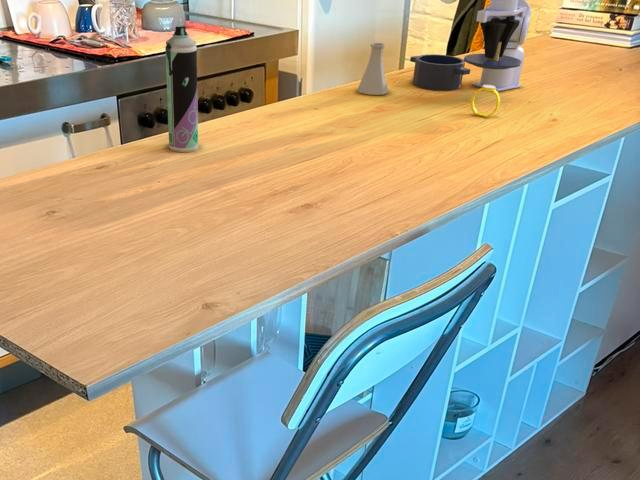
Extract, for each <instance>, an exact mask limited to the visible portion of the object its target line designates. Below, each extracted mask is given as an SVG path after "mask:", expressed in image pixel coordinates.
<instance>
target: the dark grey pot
mask: <svg viewBox="0 0 640 480" xmlns="http://www.w3.org/2000/svg"><path fill="white" fill-rule="evenodd" d="M409 61H410V63H414V67H413V68H414V69H413V76H412V85H413V86H415V87H416V88H419V89H424V90H428V91H437V92H438V91H439V92H447V91H448V92H449V91H455V90H459V89H461V86H462V83H463V77H464V76H466V75H470V74H471V69H470V68H467V67H465V65H466V62H465V61H464V58H463V59H462V58H461V57H457V56H454V55H446V54H435V53H433V54H421V55H415V56H410V59H409Z"/></svg>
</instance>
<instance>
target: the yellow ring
mask: <svg viewBox="0 0 640 480" xmlns="http://www.w3.org/2000/svg"><path fill="white" fill-rule="evenodd" d="M495 88H496V87H495V86H493V85H483V86H482V87H479V89H477V90H476V91H475V92H474V93H473V95H472V96H471V100H470V108H471V111H472V113H473V115H475V116H480V117H484V118H490V117H491V116H493V115H495V113H496V112H497V111H498V110H499V108H500V104H501V97H500V93H499V91H496V90H495ZM481 91H485V92H492V93H493V94H494V96H495V99H496V104H495V108H494V110H493V111H492V112H491V113H489V114H487V113H483V112H479V111H478V109H477V108H476V107H475V106H476V105H475V99H476V96H477V95H478V94H479V93H480V92H481Z"/></svg>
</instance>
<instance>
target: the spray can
mask: <svg viewBox="0 0 640 480" xmlns="http://www.w3.org/2000/svg"><path fill="white" fill-rule="evenodd" d="M164 48H165V74H166V96H167V97H166V99H167V101H166V102H167V124H168V126H167V127H168V128H167V129H168V147H169V150H171V151H173V152H176V153H191V152H195V151H197V150H199V113H198V112H199V109H198V108H199V106H198V105H199V104H198V47H197V41H196V40H194V39H192V38H191V37H190V35H189V33H188V32H187V29H186V25H182V26H175V31H174V33H172V36H171V37H170V38H169V39H168V40H166V41H165V47H164Z"/></svg>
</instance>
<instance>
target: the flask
mask: <svg viewBox="0 0 640 480" xmlns="http://www.w3.org/2000/svg"><path fill="white" fill-rule="evenodd" d="M385 47H386V44H385V43H384V42H371V43H370V48H371V50H370V51H371V52H370V56H369V59H368V63H367V65H366V69H365V71H364V73H363V75H362V77H361V80H360V83H359V85H358V87H357V91H358V93H360V94H365V95H370V96H372V95H373V96H379V95H380V96H381V95H382V96H383V95H385V94H387V93H389V90H388V85H387V84H388V83H387V80H386V75H385V68H384V58H383V53H384V48H385Z"/></svg>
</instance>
